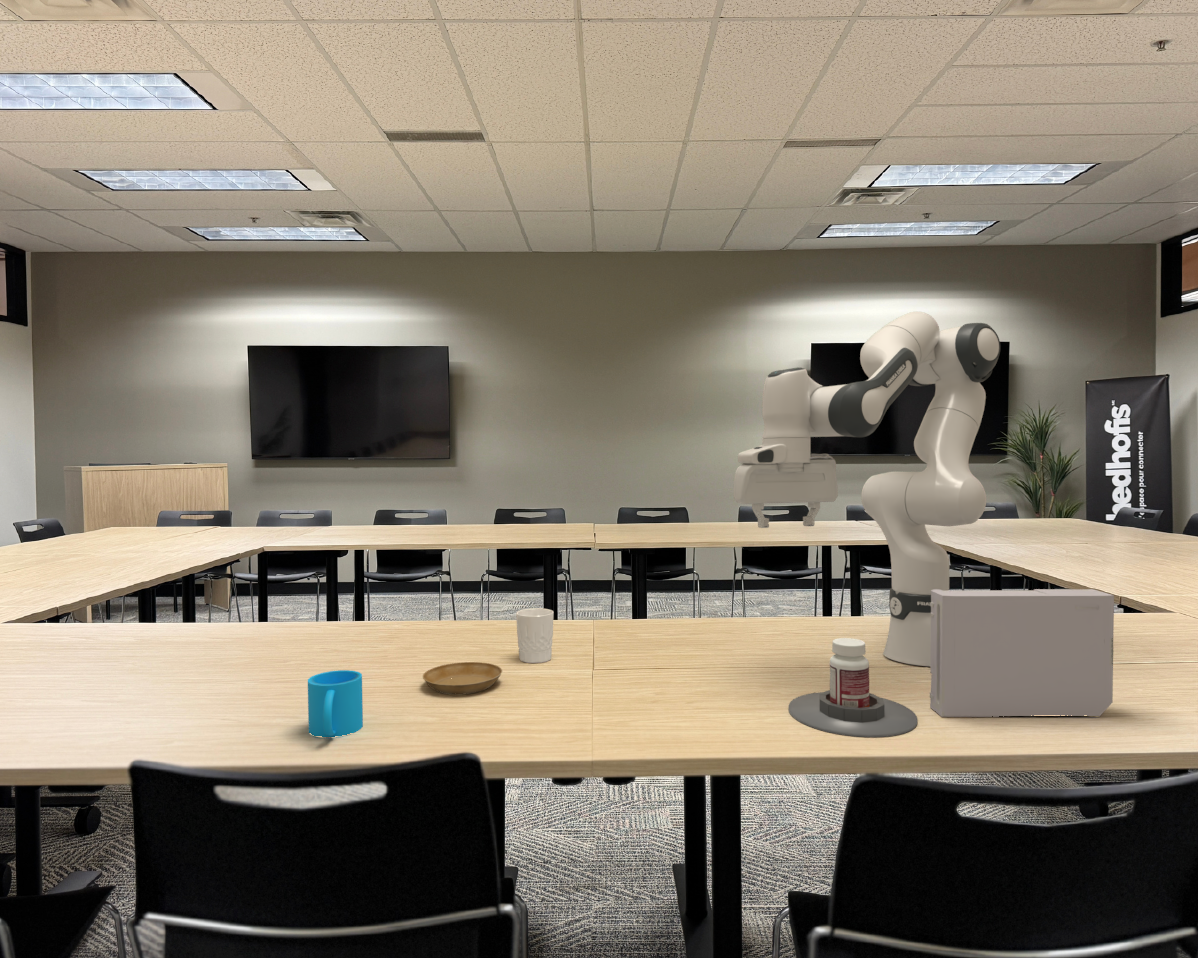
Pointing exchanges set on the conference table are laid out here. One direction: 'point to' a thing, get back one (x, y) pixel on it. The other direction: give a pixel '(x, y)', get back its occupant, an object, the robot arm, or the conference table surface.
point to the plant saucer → (462, 677)
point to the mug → (335, 703)
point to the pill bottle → (849, 673)
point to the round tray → (855, 729)
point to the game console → (1021, 652)
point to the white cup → (535, 634)
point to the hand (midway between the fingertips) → (786, 526)
